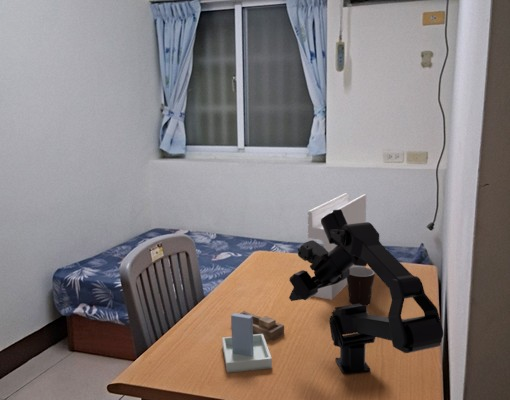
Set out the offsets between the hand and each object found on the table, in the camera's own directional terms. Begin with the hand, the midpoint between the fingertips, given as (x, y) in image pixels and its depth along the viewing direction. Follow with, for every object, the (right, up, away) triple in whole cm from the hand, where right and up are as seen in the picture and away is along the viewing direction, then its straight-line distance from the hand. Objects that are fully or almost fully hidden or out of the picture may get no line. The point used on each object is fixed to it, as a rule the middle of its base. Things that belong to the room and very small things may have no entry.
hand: (301, 293), depth 120 cm
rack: (-12, -12, +11) cm, 20 cm away
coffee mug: (+20, -9, +26) cm, 34 cm away
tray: (-14, -15, -4) cm, 21 cm away
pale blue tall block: (-15, -14, -3) cm, 21 cm away
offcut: (-8, -11, +8) cm, 16 cm away
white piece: (+18, -5, +47) cm, 50 cm away
